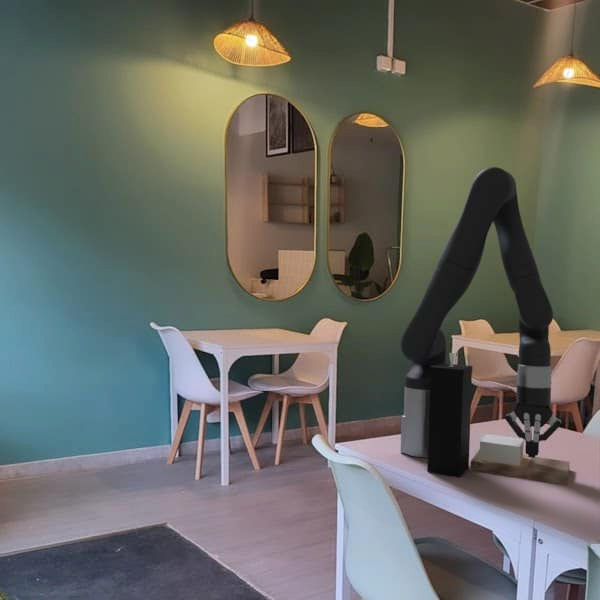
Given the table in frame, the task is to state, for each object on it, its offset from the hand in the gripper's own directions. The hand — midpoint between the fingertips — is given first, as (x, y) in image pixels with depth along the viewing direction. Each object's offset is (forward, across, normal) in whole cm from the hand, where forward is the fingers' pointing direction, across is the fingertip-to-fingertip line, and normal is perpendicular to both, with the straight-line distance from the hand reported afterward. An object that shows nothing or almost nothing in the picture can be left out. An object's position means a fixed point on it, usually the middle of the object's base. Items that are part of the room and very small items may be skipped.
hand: (532, 456), depth 141 cm
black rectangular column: (+4, -18, -10) cm, 20 cm away
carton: (+2, -7, 0) cm, 7 cm away
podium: (+4, -3, 0) cm, 4 cm away
